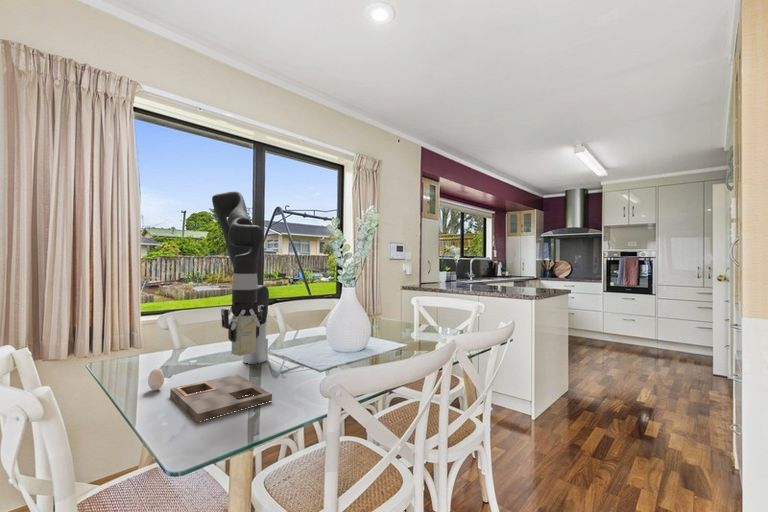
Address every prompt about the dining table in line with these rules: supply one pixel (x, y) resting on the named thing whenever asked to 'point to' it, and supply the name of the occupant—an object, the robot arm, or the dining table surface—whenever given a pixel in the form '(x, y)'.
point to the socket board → (218, 396)
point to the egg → (156, 379)
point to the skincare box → (244, 336)
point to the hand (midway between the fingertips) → (243, 339)
